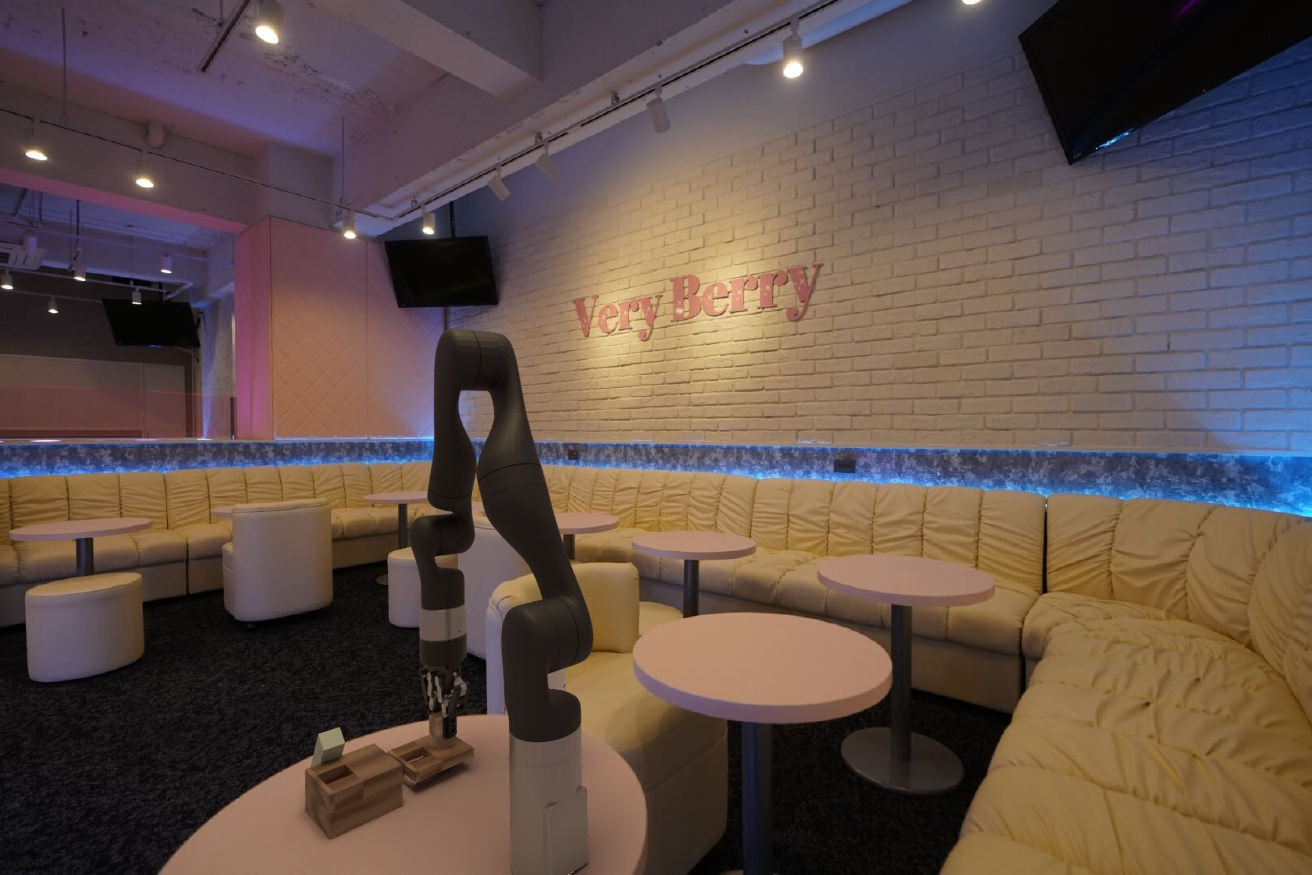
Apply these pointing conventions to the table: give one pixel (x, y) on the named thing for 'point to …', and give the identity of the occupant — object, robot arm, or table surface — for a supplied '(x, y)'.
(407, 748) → the lid
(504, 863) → the table surface
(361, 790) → the box
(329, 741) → the green square block
